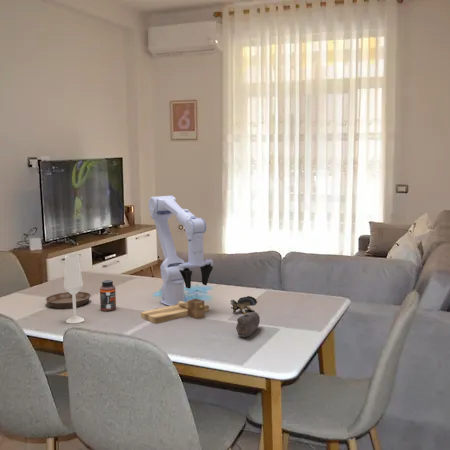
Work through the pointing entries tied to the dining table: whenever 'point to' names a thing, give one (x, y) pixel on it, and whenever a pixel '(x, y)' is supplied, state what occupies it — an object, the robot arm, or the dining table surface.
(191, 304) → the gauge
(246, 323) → the perforated stone tool
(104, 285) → the supplement bottle
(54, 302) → the plant saucer
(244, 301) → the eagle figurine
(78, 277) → the champagne flute
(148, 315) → the board
